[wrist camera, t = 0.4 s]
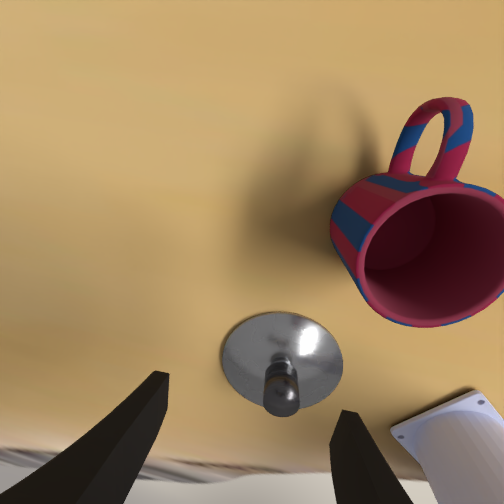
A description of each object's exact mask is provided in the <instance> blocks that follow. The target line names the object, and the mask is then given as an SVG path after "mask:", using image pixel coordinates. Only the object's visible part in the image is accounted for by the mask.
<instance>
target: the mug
mask: <svg viewBox="0 0 504 504" xmlns="http://www.w3.org/2000/svg"><path fill="white" fill-rule="evenodd" d="M440 112H441V113H442V114H443V117H444V133H443V139H442V143H441V146H440V150H439V153H438V155H437V157H436V160H435V162H434V164H433V166H432V167H431V169H430V170H429V172H428V173H427V175H426V177H425V176H419V175H413V174H411V173H410V172H409V171H410V166H411V161H412V157H413V154H414V151H415V148H416V145H417V143H418V141H419V138H420V136H421V134H422V132H423V130H424V128H425V127H426V125H427V124H428V122H429V121H430V120H431V119H432V118H433V117H434V116H435V115H436V114H438V113H440ZM472 133H473V112H472V110H471V107H470V105H469V104H468V103H467V102H466V101H465V100H462V99H459V98H452V97H442V98H436V99H432V100H429V101H427V102H425V103H424V104H422V105H421V106H419V107H418V108H417V109H416V110H415V111H414V112H413V113H412V115H411V116H410V117H409V119H408V121H407V122H406V124H405V125H404V128H403V130H402V132H401V134H400V137H399V139H398V142H397V144H396V147H395V150H394V153H393V156H392V159H391V162H390V166H389V171H388V172H387V173H379V174H375V175H371V176H369V177H367V178H364V179H362V180H360V181H359V182H357V183H355V184H354V185H353V186H351V187H350V188H349V189H348V190H347V191H346V192H345V193H344V194H343V195H342V197H341V198H340V199H339V201H338V202H337V204H336V206H335V208H334V211H333V213H332V216H331V221H330V235H331V240H332V243H333V245H334V248H335V249H336V251H337V253H338V255H339V256H340V258H341V260H342V262H343V263H344V265H345V267H346V269H347V270H348V272H349V274H350V275H351V277H352V279H353V281H354V282H355V284H356V286H357V288H358V289H359V291H360V293H361V294H362V296H363V298H364V299H365V301H366V302H367V304H368V305H369V306H370V307H371V308H372V309H373V310H374V311H375V312H377V313H378V314H380V315H381V316H382V317H384V318H386V319H388V320H390V321H392V322H394V323H398V324H401V325H405V326H410V327H418V328H432V327H439V326H446V325H449V324H453V323H456V322H460V321H462V320H464V319H467V318H469V317H471V316H473V315H475V314H477V313H478V312H480V311H482V310H484V309H485V308H486V307H488V306H489V305H490V304H491V303H493V302H494V301H495V300H496V299H497V298H498V297H499V296H500V295H501V294H502V293H503V292H504V199H503V198H502V197H500V196H499V195H498V194H496V193H494V192H492V191H490V190H488V189H486V188H482V187H479V186H476V185H472V184H466V183H462V182H460V181H458V180H457V179H456V177H457V175H458V173H459V170H460V168H461V166H462V164H463V161H464V159H465V157H466V154H467V152H468V149H469V145H470V142H471V138H472Z"/></svg>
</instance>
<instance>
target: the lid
mask: <svg viewBox="0 0 504 504" xmlns="http://www.w3.org/2000/svg"><path fill="white" fill-rule="evenodd" d="M222 361H223V368H224V372H225V375H226V377H227V379H228V381H229V382H230V384H231V385H232V386H233V388H234V389H235V390H236V391H237V392H238V393H239V394H241V395H242V396H243V397H245V398H246V399H248V400H249V401H251V402H253V403H255V404H258V405H260V406H263V407H264V408H265V409H266V410H267V412H269V413H270V414H272V415H274V416H278V417H288V416H291V415H293V414H295V413H296V412H297V411H298V410H299V409H301V408H306V407H309V406H312V405H314V404H316V403H318V402H320V401H322V400H323V399H325V398H326V397H327V396H329V395H330V394H331V393H332V392H333V390H334V389H335V388H336V386H337V385H338V383H339V381H340V379H341V376H342V372H343V359H342V354H341V351H340V348H339V345H338V343H337V342H336V340H335V338H334V337H333V336H332V334H331V333H330V332H329V331H328V330H327V329H326V328H325V327H323V326H322V325H321V324H319V323H318V322H316V321H314V320H312V319H310V318H308V317H305V316H303V315H299V314H296V313H290V312H269V313H264V314H260V315H257V316H254V317H252V318H250V319H247V320H246V321H244V322H243V323H241V324H240V325H239V326H238V327H236V328H235V330H234V331H233V332H232V333H231V334H230V336H229V337H228V339H227V342H226V344H225V347H224V351H223V358H222Z"/></svg>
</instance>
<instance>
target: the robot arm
mask: <svg viewBox="0 0 504 504" xmlns="http://www.w3.org/2000/svg"><path fill="white" fill-rule="evenodd" d="M168 390H169V373H165V372H160V371H154V372H152V373H151V374H150V375H149V376H148V378H147V379H146V380H145V381H144V382H143V383H142V384H141V385H140V386H139V387H137V388H136V389H135V390H134V391H133V392H132V393H131V394H130V395H129V396H128V397H127V398H126V399H125V400H124V401H123V402H122V403H121V404H119V405H118V406H117V407H116V408H115V409H114V410H113V411H112V412H111V413H109V414H108V415H107V416H106V417H105V418H104V419H103V420H101V421H100V422H99V423H98V424H97V425H95V426H94V427H93V428H92V429H91V430H89V431H88V432H87V433H86V434H85V435H83V436H82V437H81V438H80V439H78V440H77V441H76V442H74V443H73V444H72V445H71V446H69V447H68V448H67V449H65V450H64V451H63V452H61V453H60V454H59V455H57V456H56V457H55V458H53V459H52V460H50V461H49V462H47V463H46V464H45V465H43V466H42V467H40V468H39V469H37V470H36V471H35V472H33V473H32V474H30V475H29V476H27V477H26V478H25V479H23V480H21V481H20V482H19V483H17V484H15V485H14V486H12V487H11V488H9V489H8V490H6V491H4V492H3V493H1V494H0V504H123V503H124V501H125V499H126V497H127V495H128V493H129V491H130V489H131V487H132V485H133V483H134V481H135V479H136V477H137V475H138V473H139V471H140V469H141V467H142V465H143V463H144V461H145V459H146V457H147V455H148V453H149V451H150V449H151V447H152V445H153V443H154V441H155V439H156V437H157V435H158V432H159V430H160V427H161V425H162V422H163V419H164V417H165V414H166V411H167V408H168ZM390 431H391V434H392V436H393V437H394V438H395V439H396V440H397V441H398V442H399V443H400V444H401V445H402V446H403V447H404V448H405V449H406V450H407V451H408V452H409V453H410V454H411V455H412V456H413V458H414V459H415V460H416V461H417V462H418V463H419V464H420V465H421V467H422V469H423V471H424V473H425V476H426V478H427V480H428V482H429V484H430V487H431V489H432V491H433V493H434V495H435V498H436V500H437V502H438V504H504V420H503V418H502V417H501V416H500V415H499V413H498V412H497V411H496V410H495V408H494V407H493V406H492V405H491V404H490V402H489V401H488V400H487V399H486V397H485V396H484V395H483V394H482V393H481V392H480V391H478V390H473V391H470V392H468V393H466V394H463V395H461V396H459V397H457V398H455V399H452V400H450V401H448V402H446V403H444V404H441V405H439V406H437V407H435V408H433V409H430V410H428V411H426V412H424V413H421V414H419V415H417V416H415V417H413V418H410V419H408V420H406V421H404V422H402V423H399V424H397V425H395V426H393V427H391V429H390ZM329 446H330V461H331V472H332V479H333V485H334V490H335V496H336V501H337V504H413V502H412V501H411V499H410V498H409V496H408V495H407V493H406V492H405V490H404V489H403V487H402V485H401V484H400V482H399V481H398V479H397V478H396V476H395V474H394V473H393V471H392V470H391V468H390V467H389V465H388V463H387V462H386V460H385V458H384V457H383V455H382V454H381V452H380V450H379V449H378V447H377V445H376V443H375V442H374V440H373V438H372V437H371V435H370V433H369V432H368V430H367V428H366V426H365V425H364V423H363V421H362V419H361V418H360V416H359V414H358V413H356V412H351V411H346V410H342V412H341V414H340V417H339V420H338V422H337V425H336V428H335V430H334V433H333V436H332V438H331V441H330V444H329Z"/></svg>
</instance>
